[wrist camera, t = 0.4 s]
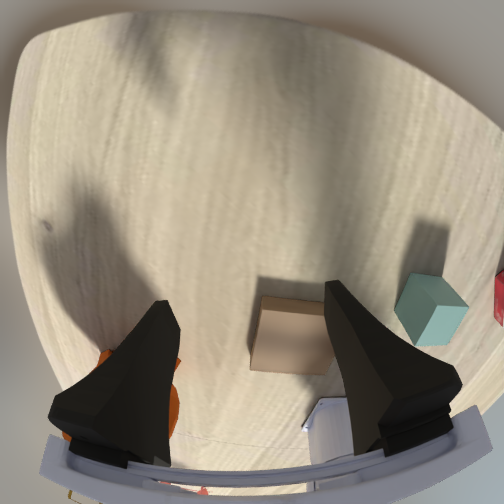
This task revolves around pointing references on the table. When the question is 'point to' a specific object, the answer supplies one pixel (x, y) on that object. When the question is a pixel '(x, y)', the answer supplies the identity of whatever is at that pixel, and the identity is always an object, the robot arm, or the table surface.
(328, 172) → the table surface
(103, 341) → the table surface
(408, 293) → the teal block
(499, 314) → the ink box
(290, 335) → the walnut slab
